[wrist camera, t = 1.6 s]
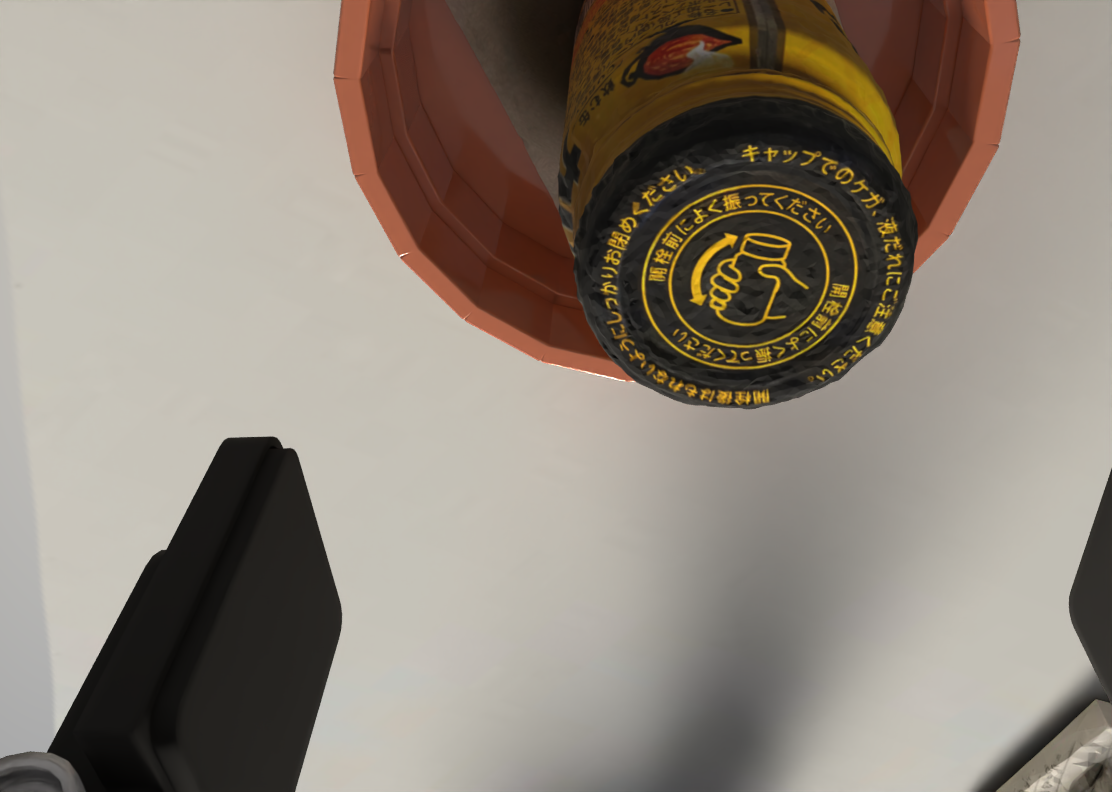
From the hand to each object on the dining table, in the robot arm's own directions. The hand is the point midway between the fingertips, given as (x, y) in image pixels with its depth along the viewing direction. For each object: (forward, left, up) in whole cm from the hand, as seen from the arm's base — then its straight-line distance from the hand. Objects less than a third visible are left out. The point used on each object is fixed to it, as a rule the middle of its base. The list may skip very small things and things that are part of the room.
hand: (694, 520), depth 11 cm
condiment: (0, 0, -17) cm, 17 cm away
